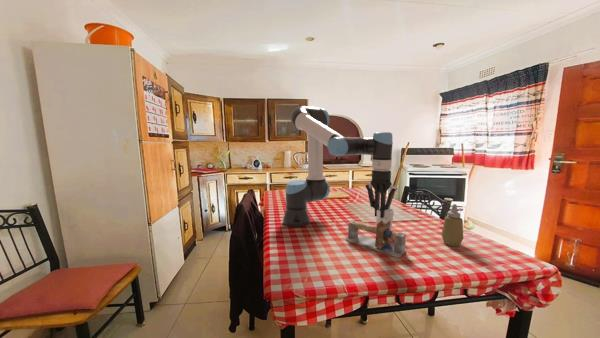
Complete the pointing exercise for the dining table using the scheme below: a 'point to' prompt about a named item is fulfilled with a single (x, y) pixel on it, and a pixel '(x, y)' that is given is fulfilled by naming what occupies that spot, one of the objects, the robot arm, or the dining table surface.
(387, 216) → the cup
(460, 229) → the squeeze bottle
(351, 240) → the rail
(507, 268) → the dining table surface
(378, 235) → the collar
